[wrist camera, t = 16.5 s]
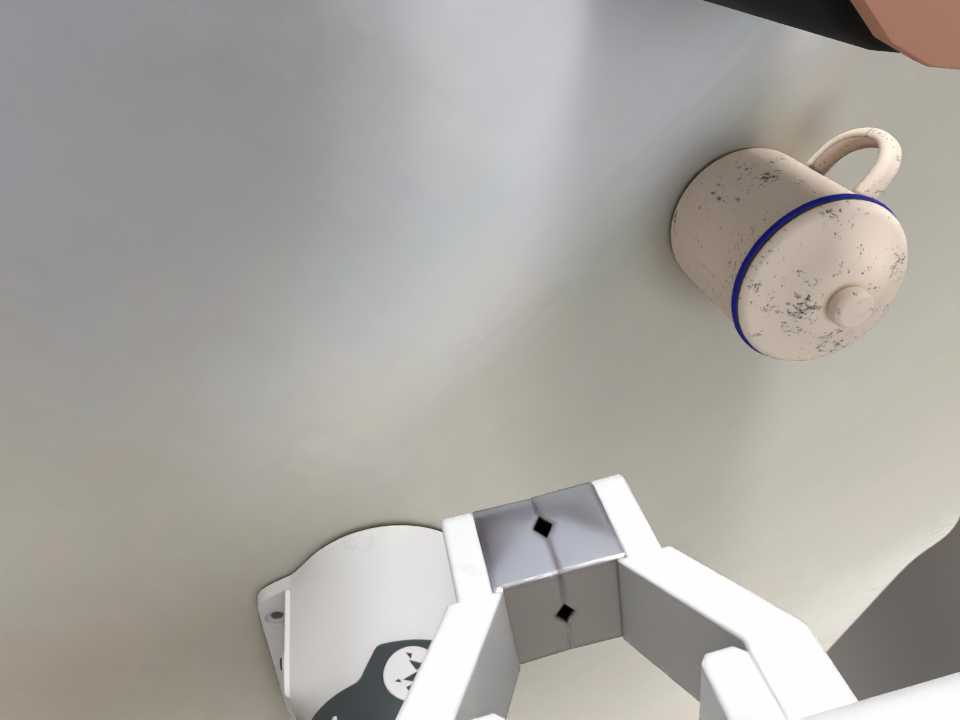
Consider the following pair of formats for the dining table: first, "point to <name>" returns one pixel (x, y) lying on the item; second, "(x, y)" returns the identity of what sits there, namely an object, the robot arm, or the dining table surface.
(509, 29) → the dining table surface
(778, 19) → the coffee jar
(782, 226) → the teacup with lid
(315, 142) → the dining table surface
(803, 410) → the dining table surface
